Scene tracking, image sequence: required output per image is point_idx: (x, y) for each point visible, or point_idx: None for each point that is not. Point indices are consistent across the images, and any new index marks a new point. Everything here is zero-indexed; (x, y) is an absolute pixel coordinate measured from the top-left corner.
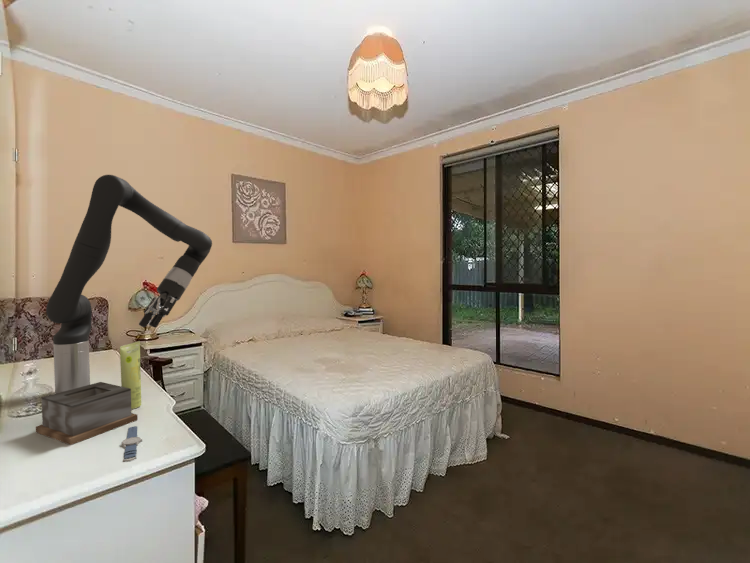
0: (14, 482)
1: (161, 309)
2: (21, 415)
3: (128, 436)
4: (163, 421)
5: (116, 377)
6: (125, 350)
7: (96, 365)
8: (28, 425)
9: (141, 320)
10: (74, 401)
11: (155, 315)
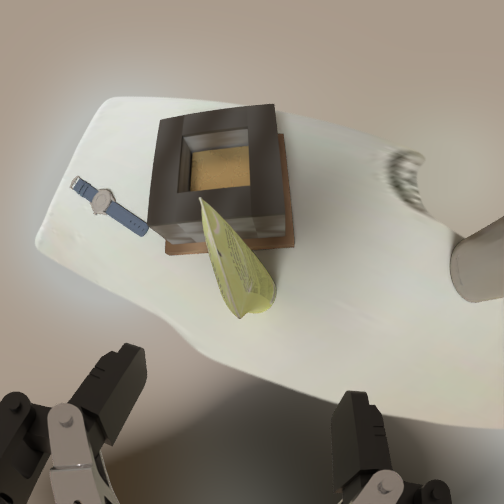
0: (144, 101)
1: (10, 409)
2: (401, 160)
3: (119, 207)
4: (121, 275)
5: (498, 376)
6: (203, 227)
7: None
8: (333, 145)
9: (358, 415)
10: (179, 127)
11: (87, 397)
